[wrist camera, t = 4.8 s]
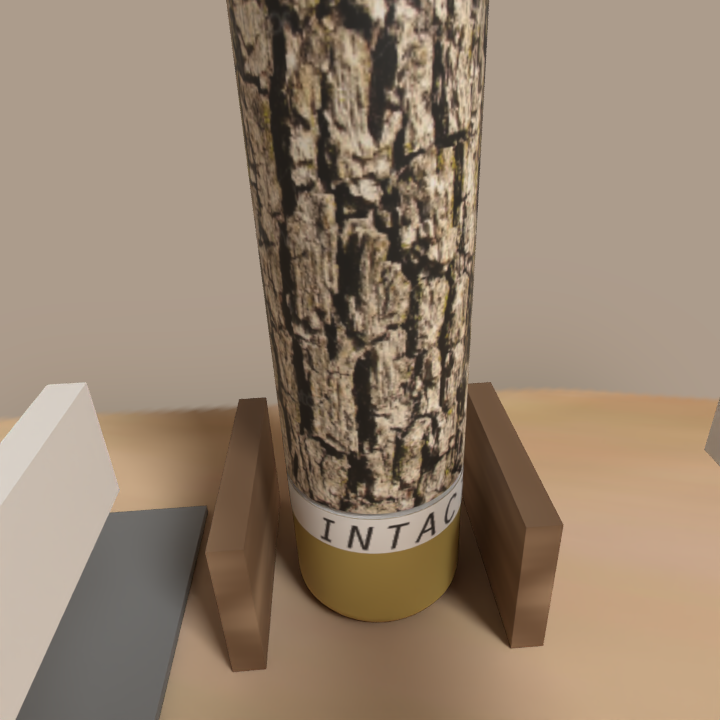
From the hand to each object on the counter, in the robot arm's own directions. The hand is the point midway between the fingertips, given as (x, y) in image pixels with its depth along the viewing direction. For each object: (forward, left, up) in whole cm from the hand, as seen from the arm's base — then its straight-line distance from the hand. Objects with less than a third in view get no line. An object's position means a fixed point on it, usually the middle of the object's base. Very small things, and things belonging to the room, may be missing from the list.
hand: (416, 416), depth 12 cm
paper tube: (0, +8, -13) cm, 15 cm away
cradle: (0, +8, -13) cm, 15 cm away
